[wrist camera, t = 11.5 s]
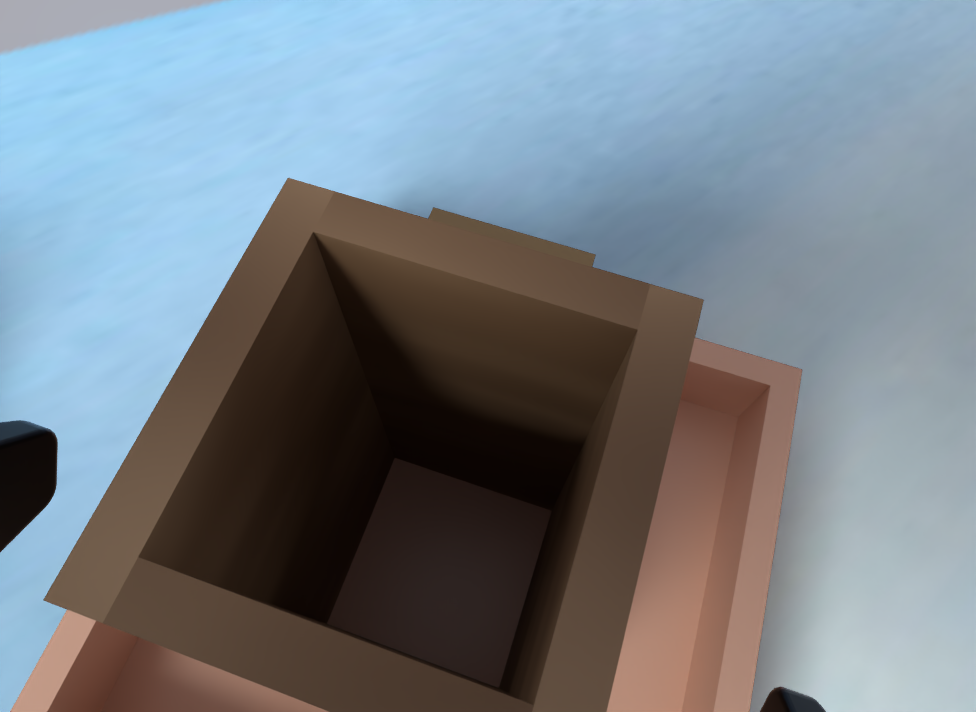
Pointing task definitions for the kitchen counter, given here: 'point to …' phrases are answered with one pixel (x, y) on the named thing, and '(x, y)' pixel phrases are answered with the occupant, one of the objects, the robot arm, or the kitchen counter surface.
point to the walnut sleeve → (391, 452)
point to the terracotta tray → (520, 574)
